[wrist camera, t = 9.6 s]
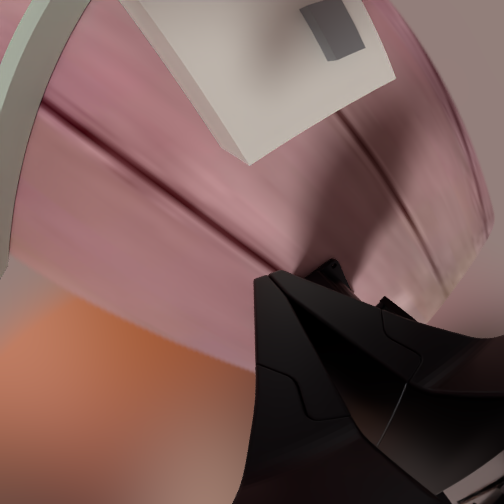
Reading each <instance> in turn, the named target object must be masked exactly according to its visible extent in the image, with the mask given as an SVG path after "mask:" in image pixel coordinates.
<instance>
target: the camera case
mask: <svg viewBox="0 0 504 504" xmlns="http://www.w3.org/2000/svg"><path fill="white" fill-rule="evenodd" d="M119 1H120V3H121V4H122V5H123V7H124V8H125V9H126V11H127V12H128V14H129V15H130V16H131V18H132V19H133V20H134V22H135V23H136V25H137V26H138V27H139V29H140V30H141V31H142V33H143V34H144V36H145V37H146V38H147V40H148V41H149V43H150V44H151V45H152V47H153V48H154V50H155V51H156V53H157V54H158V55H159V57H160V58H161V60H162V61H163V62H164V64H165V65H166V67H167V68H168V70H169V71H170V73H171V74H172V75H173V77H174V78H175V80H176V81H177V83H178V84H179V86H180V87H181V89H182V90H183V91H184V93H185V94H186V96H187V97H188V99H189V100H190V102H191V103H192V105H193V106H194V108H195V109H196V111H197V112H198V114H199V115H200V117H201V118H202V120H203V121H204V123H205V124H206V126H207V127H208V129H209V130H210V132H211V133H212V135H213V136H214V138H215V139H216V141H217V142H218V144H219V145H220V147H221V148H222V149H224V150H225V151H227V152H229V153H230V154H232V155H233V156H235V157H237V158H238V159H240V160H241V161H243V162H244V163H246V164H248V165H249V166H250V165H252V164H253V163H255V162H256V161H258V160H259V159H261V158H262V157H264V156H265V155H267V154H268V153H270V152H271V151H273V150H274V149H276V148H278V147H279V146H281V145H282V144H284V143H285V142H287V141H289V140H290V139H292V138H293V137H295V136H296V135H298V134H300V133H301V132H303V131H305V130H306V129H308V128H309V127H311V126H313V125H314V124H316V123H318V122H319V121H321V120H323V119H324V118H326V117H328V116H330V115H331V114H333V113H335V112H336V111H338V110H340V109H342V108H343V107H345V106H347V105H349V104H350V103H352V102H354V101H356V100H357V99H359V98H361V97H363V96H365V95H366V94H368V93H370V92H372V91H374V90H376V89H378V88H379V87H381V86H383V85H385V84H387V83H389V82H391V81H393V80H395V79H396V77H395V74H394V72H393V69H392V66H391V64H390V61H389V59H388V56H387V54H386V51H385V49H384V47H383V44H382V42H381V40H380V37H379V35H378V33H377V31H376V29H375V27H374V24H373V22H372V20H371V18H370V16H369V14H368V12H367V10H366V8H365V6H364V4H363V3H362V1H361V0H119Z"/></svg>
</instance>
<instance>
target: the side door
mask: <svg viewBox="0 0 504 504" xmlns="http://www.w3.org/2000/svg"><path fill="white" fill-rule="evenodd" d="M89 2H90V0H32V2H31V3H30V5H29V7H28V8H27V10H26V12H25V14H24V16H23V17H22V19H21V21H20V23H19V25H18V27H17V29H16V31H15V33H14V35H13V37H12V39H11V41H10V43H9V46H8V48H7V50H6V52H5V55H4V57H3V59H2V62H1V64H0V278H1V277H2V275H3V274H4V272H5V271H6V269H7V267H8V255H9V242H10V232H11V223H12V216H13V209H14V202H15V196H16V191H17V185H18V180H19V176H20V171H21V166H22V162H23V158H24V154H25V150H26V146H27V143H28V139H29V136H30V132H31V129H32V126H33V123H34V119H35V116H36V113H37V110H38V108H39V105H40V102H41V99H42V97H43V94H44V91H45V89H46V86H47V84H48V81H49V79H50V76H51V74H52V72H53V69H54V67H55V65H56V63H57V61H58V58H59V56H60V54H61V52H62V50H63V48H64V46H65V44H66V42H67V40H68V38H69V36H70V34H71V33H72V31H73V29H74V27H75V25H76V23H77V22H78V20H79V18H80V16H81V15H82V13H83V11H84V10H85V8H86V7H87V5H88V3H89Z"/></svg>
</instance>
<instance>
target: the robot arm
mask: <svg viewBox="0 0 504 504" xmlns="http://www.w3.org/2000/svg"><path fill="white" fill-rule="evenodd" d="M333 264H334V265H333ZM332 265H333V266H332ZM253 283H254V323H255V362H256V367H255V370H256V390H255V392H256V393H255V405H254V415H253V421H252V428H251V434H250V440H249V446H248V452H247V459H246V464H245V469H244V473H243V477H242V481H241V484H240V487H239V490H238V492H237V494H236V497H235V499H234V501H233V503H232V504H504V335H502V336H499V337H494V338H474V337H470V336H466V335H462V334H458V333H455V332H451V331H447V330H444V329H440V328H436V327H432V326H429V325H426V324H422V323H419V322H417V321H416V320H415V319H414V318H413V317H411V316H410V315H409V314H407V313H406V312H405V311H404V310H402V309H401V308H400V307H398V306H397V305H396V304H395V303H393V302H392V301H391V300H389V299H388V298H387V297H385V296H384V297H383V298H382V299H381V300H380V303H378V304H377V305H376V306H372V305H370V304H367V303H365V302H362V301H361V300H360V299H359V298H358V297H357V296H356V295H355V294H354V293H353V292H352V291H351V290H350V287H349V285H348V283H347V280H346V278H345V276H344V273H343V271H342V269H341V266H340V264H339V262H338V261H337V260H336V259H330V260H329V261H328V262H326V263H325V264H324V265H322V266H321V267H320V268H318V269H317V270H315V271H314V272H313V273H311V274H310V275H309V276H307V277H306V278H305V279H304V278H301V277H299V276H296V275H294V274H291V273H289V272H286V271H283V270H279V271H276V272H273V273H270V274H269V275H268V276H267V275H264V276H262V277H259V278H256V279H254V281H253Z"/></svg>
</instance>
